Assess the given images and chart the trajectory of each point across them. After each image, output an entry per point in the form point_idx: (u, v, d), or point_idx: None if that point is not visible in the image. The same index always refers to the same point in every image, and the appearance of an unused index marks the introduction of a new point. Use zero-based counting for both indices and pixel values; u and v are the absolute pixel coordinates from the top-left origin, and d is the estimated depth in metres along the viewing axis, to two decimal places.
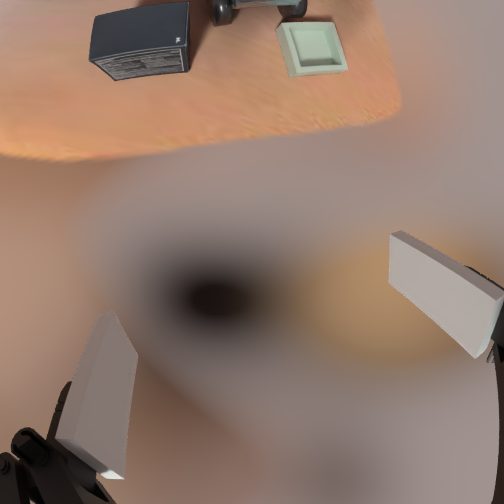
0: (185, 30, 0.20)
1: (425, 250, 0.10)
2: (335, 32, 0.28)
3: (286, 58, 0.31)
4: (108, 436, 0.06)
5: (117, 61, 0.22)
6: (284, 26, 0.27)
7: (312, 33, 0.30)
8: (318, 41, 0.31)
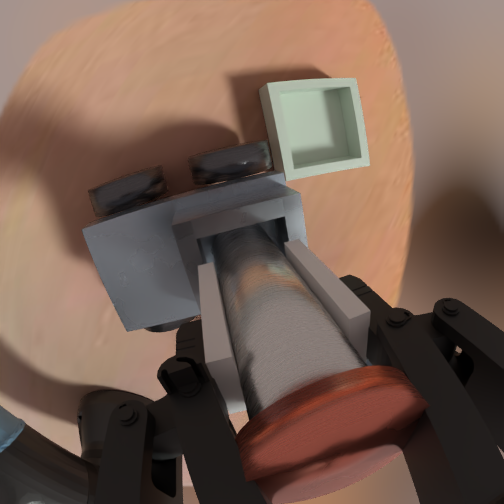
0: None
1: (306, 260, 0.11)
2: (290, 83, 0.19)
3: None
4: None
5: None
6: (293, 176, 0.21)
7: None
8: (295, 109, 0.21)
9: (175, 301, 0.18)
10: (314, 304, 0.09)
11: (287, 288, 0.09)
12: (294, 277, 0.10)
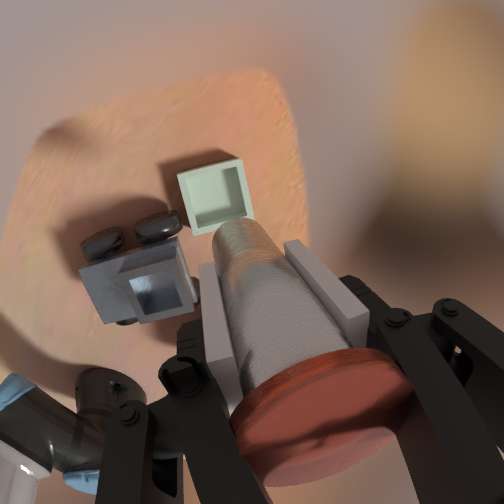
0: None
1: (305, 260, 0.11)
2: (192, 172, 0.32)
3: None
4: None
5: None
6: (197, 233, 0.35)
7: (191, 191, 0.35)
8: (202, 184, 0.35)
9: (128, 308, 0.31)
10: (306, 294, 0.09)
11: (281, 279, 0.10)
12: (289, 270, 0.11)
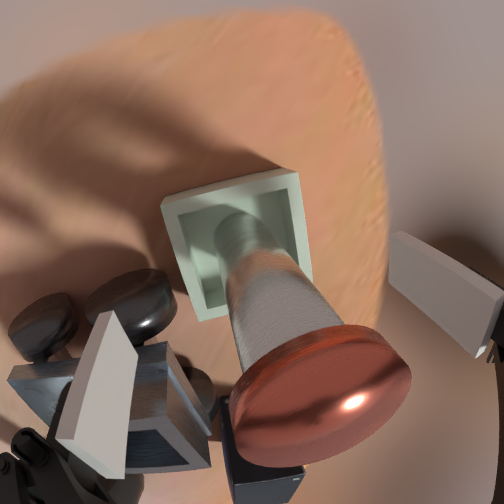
0: (284, 478, 0.17)
1: (425, 250, 0.10)
2: (192, 201, 0.15)
3: None
4: (108, 436, 0.06)
5: None
6: (207, 317, 0.18)
7: (192, 234, 0.18)
8: (213, 220, 0.18)
9: None
10: (304, 280, 0.10)
11: (280, 267, 0.10)
12: (287, 259, 0.11)
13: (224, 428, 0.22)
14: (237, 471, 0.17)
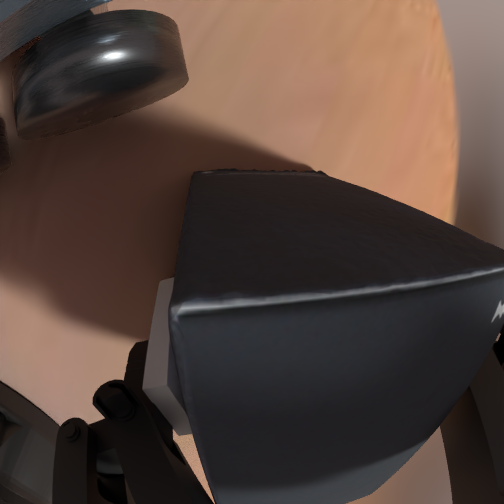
0: (483, 280, 0.03)
1: None
2: None
3: None
4: None
5: None
6: None
7: None
8: None
9: None
10: None
11: None
12: None
13: (189, 193, 0.08)
14: (213, 244, 0.03)
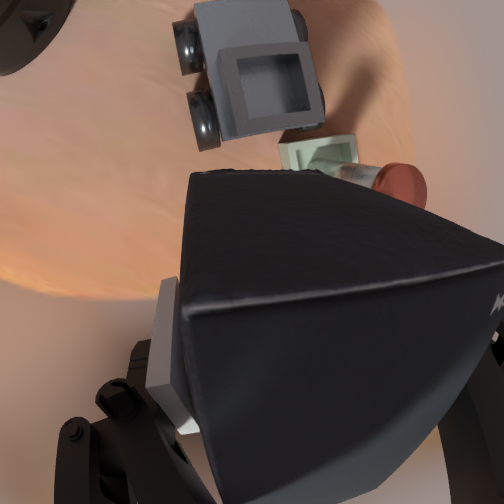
0: (482, 274, 0.03)
1: None
2: (354, 150, 0.28)
3: None
4: (188, 387, 0.08)
5: None
6: (290, 149, 0.26)
7: (325, 146, 0.29)
8: (331, 158, 0.30)
9: (221, 40, 0.17)
10: None
11: None
12: None
13: None
14: (218, 244, 0.04)
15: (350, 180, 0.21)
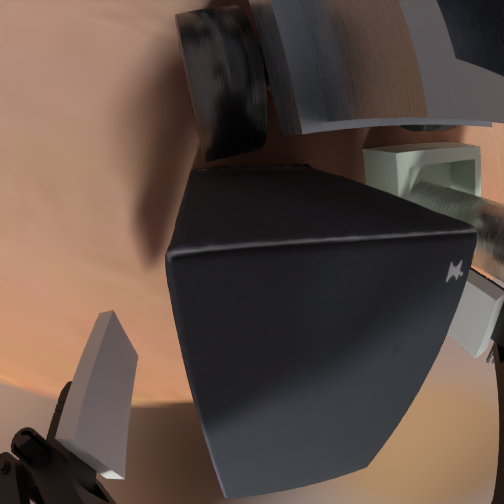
0: (424, 240, 0.04)
1: None
2: (479, 174, 0.13)
3: None
4: (108, 436, 0.06)
5: None
6: (400, 165, 0.11)
7: None
8: (439, 183, 0.15)
9: None
10: None
11: None
12: None
13: None
14: (199, 218, 0.05)
15: None
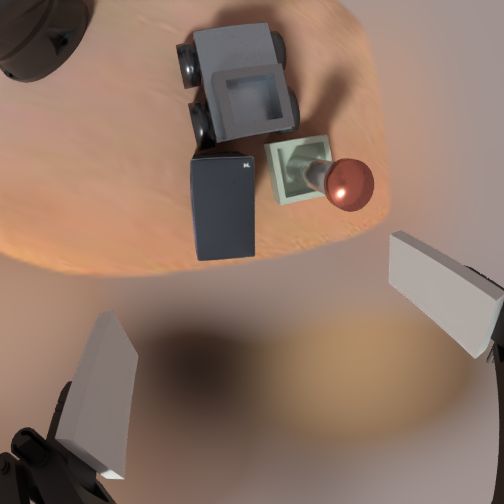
0: (234, 158, 0.25)
1: (425, 250, 0.10)
2: (328, 148, 0.34)
3: (272, 181, 0.36)
4: (108, 436, 0.06)
5: None
6: (272, 148, 0.33)
7: (303, 145, 0.35)
8: (309, 155, 0.36)
9: (214, 63, 0.23)
10: None
11: None
12: None
13: None
14: (195, 158, 0.26)
15: (314, 172, 0.27)
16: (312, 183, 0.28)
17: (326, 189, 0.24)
